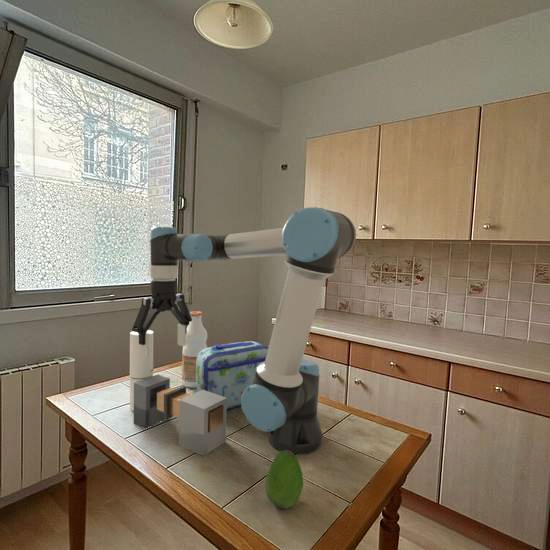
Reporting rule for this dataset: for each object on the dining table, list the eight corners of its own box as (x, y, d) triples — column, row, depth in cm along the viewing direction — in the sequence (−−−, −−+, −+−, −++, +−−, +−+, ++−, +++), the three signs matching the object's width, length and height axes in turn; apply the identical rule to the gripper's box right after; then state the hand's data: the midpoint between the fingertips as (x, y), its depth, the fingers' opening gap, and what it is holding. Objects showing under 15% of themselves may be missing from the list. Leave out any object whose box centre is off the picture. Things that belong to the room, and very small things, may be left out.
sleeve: (225, 441, 103) (226, 397, 102) (203, 456, 96) (204, 409, 95) (202, 431, 108) (202, 389, 107) (178, 444, 101) (179, 399, 100)
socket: (169, 417, 116) (169, 378, 115) (145, 429, 108) (145, 387, 107) (157, 412, 119) (157, 374, 118) (133, 423, 111) (133, 382, 110)
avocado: (294, 522, 74) (297, 465, 73) (259, 510, 77) (261, 455, 76) (306, 497, 82) (309, 445, 81) (273, 487, 85) (275, 437, 84)
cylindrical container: (156, 403, 126) (157, 330, 123) (147, 412, 118) (147, 335, 116) (136, 401, 126) (136, 329, 124) (125, 410, 119) (125, 334, 117)
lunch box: (204, 418, 116) (205, 352, 115) (192, 405, 125) (193, 344, 123) (274, 401, 131) (276, 342, 129) (258, 390, 140) (260, 335, 138)
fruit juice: (179, 380, 146) (180, 310, 144) (203, 377, 150) (204, 309, 148) (184, 389, 138) (185, 315, 135) (209, 386, 141) (211, 314, 139)
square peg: (225, 426, 102) (226, 401, 101) (207, 437, 96) (207, 410, 95) (172, 405, 113) (173, 382, 113) (153, 414, 107) (153, 390, 107)
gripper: (186, 276, 122) (186, 339, 124) (118, 281, 101) (119, 357, 103) (203, 277, 118) (203, 343, 120) (135, 283, 97) (135, 362, 99)
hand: (164, 350), depth 111 cm, fingers open, 13 cm apart
